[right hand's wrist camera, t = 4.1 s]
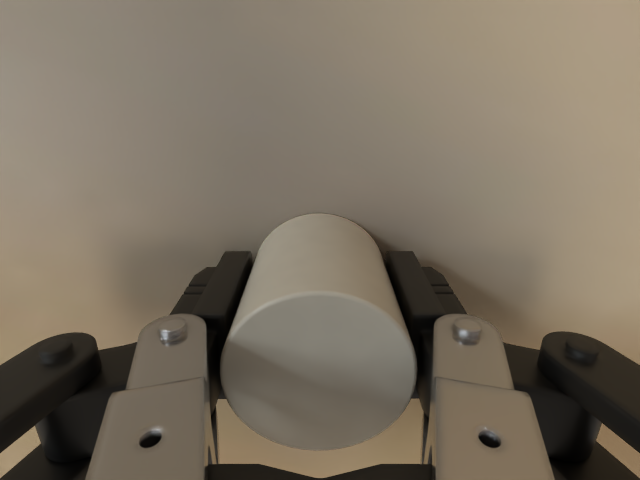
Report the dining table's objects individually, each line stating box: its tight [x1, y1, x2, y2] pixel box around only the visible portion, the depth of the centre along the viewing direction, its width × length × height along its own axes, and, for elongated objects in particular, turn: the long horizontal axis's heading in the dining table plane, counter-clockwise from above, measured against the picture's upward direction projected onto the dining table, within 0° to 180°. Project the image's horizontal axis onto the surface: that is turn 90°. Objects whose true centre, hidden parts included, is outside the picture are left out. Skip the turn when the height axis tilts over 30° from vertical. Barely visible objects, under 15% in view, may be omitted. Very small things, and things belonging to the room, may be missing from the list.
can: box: [220, 213, 417, 450], centre depth 10 cm, size 4×4×5 cm
